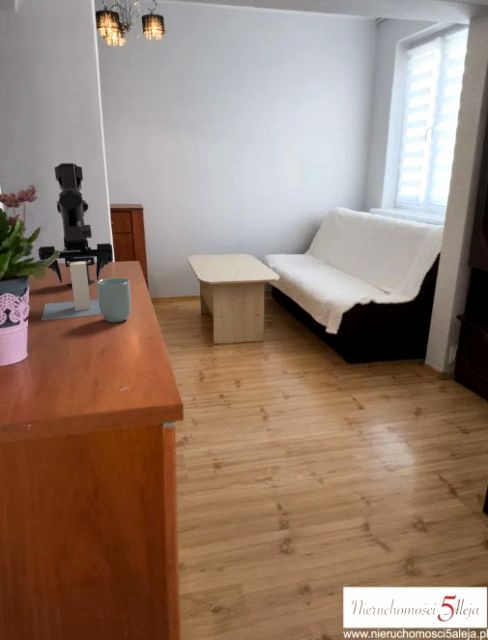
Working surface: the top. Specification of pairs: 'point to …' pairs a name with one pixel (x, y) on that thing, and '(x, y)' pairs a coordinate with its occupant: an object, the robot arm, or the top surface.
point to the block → (80, 285)
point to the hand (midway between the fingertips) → (79, 280)
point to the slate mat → (69, 310)
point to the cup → (114, 299)
